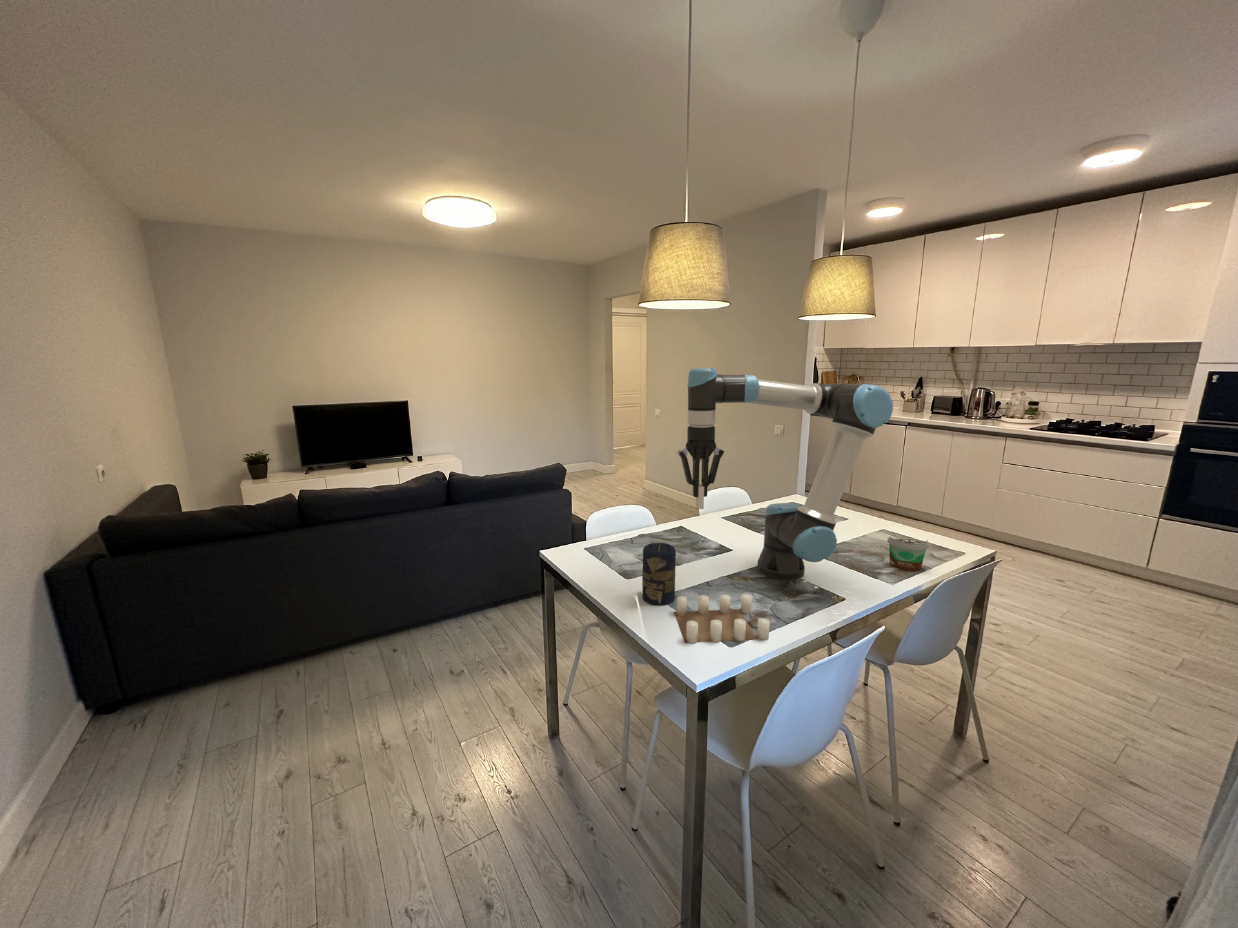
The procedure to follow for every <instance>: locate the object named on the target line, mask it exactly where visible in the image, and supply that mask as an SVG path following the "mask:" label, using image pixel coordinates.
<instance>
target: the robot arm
mask: <svg viewBox="0 0 1238 928" xmlns="http://www.w3.org/2000/svg"><path fill="white" fill-rule="evenodd" d="M687 379H688V380H687V424H688V426H687V435H686V436H687V438H686V439H687V440H686V441H687V442H686V444H685V447H683V449H681V450H680V449H679V450H677V454H678V456H679V457H680V459H681V464H682V469H683V472H684V477H685V481H686V483H687V484H688V485H690V486H692V495H693V497H694V498H695V507H696V509H698V510H704V509H705V498H707V496H708V487H709V485H711V484H714V483H715V481H716V476H717V473H718V469H719V466H720V462H721V459H722V457H723V456H724V453H725V451H724V450H723V449H722V448H719V447H717V443H716V441H715V440H716V427H715V426H714V425H715V424H716V408H717V406H716V404H728V403H729V404H733V403H735V404H736V403H737V404H738V403H743V404H752V405H759V406H760V405H761V406H769V407H775V408H776V407H777V408H786V409H792V410H793V409H794V410H802V411H804V412H805V413H806V414H809V415H816V416H820V417H824V418H827V419H830V420H832V422H831V425H832V427H833V433H832V436H831V439H830V441H829V443H828V445H827V449H826V451H825V453H824V455H823V458H822V461H821V463H820V464H819V469H818V471H817V472H816V475H815V478H814V480H813V483H812V485H811V488H810V490H809V493H808V494H807V497H806V500H805V502H804V503H803V505H802V504H797V503H788V502H787V503H786V502H779V503H777V502H776V503H772V504H768V505H767V506H766V508H765V512H764V513H765V514H764V534H763V536H764V537H763V547H762V550H761V552H760V554H759V556H758V559H757V565H756V566H757V567H756V568H757V569H756V570H757V572H759V573H760V574H762V575H764V576H766V577H769V578H772V579H776V580H782V581H783V580H784V581H791V580H792V581H793V580H799V579H800V578H803V577H804V576H805V570H806V567H805V562H804V561H806V562H809V563H818V562H822V561H823V560H826V559H828V558H829V557H830V556H831V555H832V554H833V553H834V551H835V550H836V547H837V544H838V539H837V538H836V537H837V535H836V533H835V532H834V529H835V527H836V525H837V521H836V519H835V516H834V515H835V513H836V510H837V508H838V505H839V503H840V500H841V498H842V496H843V494H844V490H845V489H846V486H847V483H848V482H849V478H850V476H851V474H852V472H853V469H854V467H855V464H856V463H857V460H858V457H859V455H860V452H861V450H862V448H863V445H864V443H865V441H866V440H868V439H869V438H872V437H873V436H874V434H875V431H876V429H877V428H880V427H883V425H885V424H886V423H888V421H889V420H890V419H891V417H892V414H893V410H894V404H893V399H892V398H891V394H890V393H889V391H887V390H886V389H885V388H884V387H882V386H879V385H873V384H871V383H864V384H863V383H862V384H861V383H817V382H815V383H811V384H809V385H805V384H798V383H791V382H790V383H789V382H782V381H781V382H780V381H773V380H767V379H766V380H765V379H761V378H760V379H759V378H758V377H757V376H756V375H753V374H720V373H717V369H716V368H707V367H706V368H692V369H690V370H689V371H688V378H687ZM688 453H689V455H690V457H692V473H691V468H690V463H689V461H688ZM712 454H713V457H712V461H711V464H710V457H711V456H712ZM700 463H701V464H700ZM709 464H710V468H709ZM700 465H701V474H700ZM700 475H701V477H700ZM700 478H701V480H700ZM700 482H701V484H700Z"/></svg>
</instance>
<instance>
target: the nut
mask: <svg viewBox="0 0 1238 928" xmlns="http://www.w3.org/2000/svg"><path fill="white" fill-rule="evenodd" d="M748 614H749V617H748V623H749V624H750V626H752V628H757V629H758V619H759V618H766V619H768V620H769V621H770V626H769V628H770V627H771V626H772V616H771V614H770V613H769V612H768V611H766V610H763V609H762V610H761V609H757V608H755V610H751V612H750V613H748Z"/></svg>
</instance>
